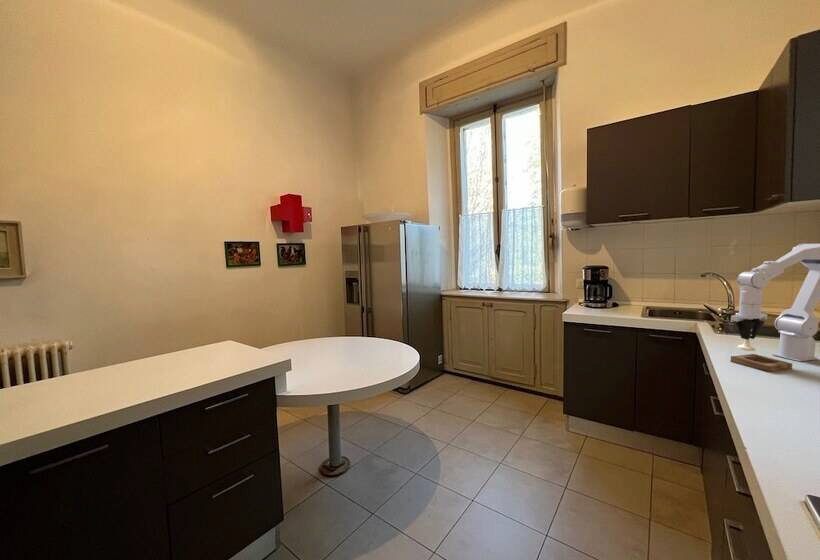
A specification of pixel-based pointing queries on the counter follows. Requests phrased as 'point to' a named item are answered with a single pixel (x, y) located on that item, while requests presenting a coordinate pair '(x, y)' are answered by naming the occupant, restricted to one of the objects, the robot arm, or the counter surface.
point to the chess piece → (746, 345)
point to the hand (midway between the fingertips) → (747, 338)
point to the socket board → (761, 362)
